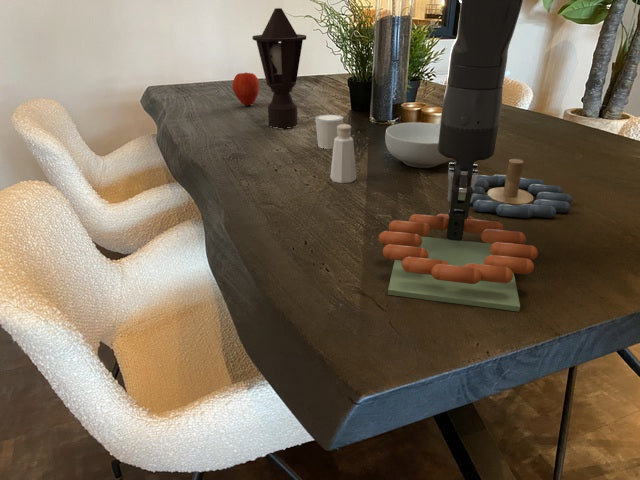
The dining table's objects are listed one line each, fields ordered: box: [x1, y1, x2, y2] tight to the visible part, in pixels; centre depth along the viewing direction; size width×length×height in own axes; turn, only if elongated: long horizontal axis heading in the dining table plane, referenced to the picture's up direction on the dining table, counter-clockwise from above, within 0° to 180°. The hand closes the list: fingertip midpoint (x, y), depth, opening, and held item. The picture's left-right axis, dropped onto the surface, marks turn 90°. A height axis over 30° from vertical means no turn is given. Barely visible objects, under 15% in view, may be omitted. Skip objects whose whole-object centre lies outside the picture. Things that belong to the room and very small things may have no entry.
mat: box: [387, 236, 521, 313], centre depth 68 cm, size 16×16×1 cm
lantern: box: [251, 7, 307, 128], centre depth 131 cm, size 15×15×30 cm
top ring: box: [378, 213, 539, 284], centre depth 66 cm, size 21×17×2 cm
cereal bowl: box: [384, 121, 454, 169], centre depth 107 cm, size 17×17×7 cm
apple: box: [232, 71, 260, 106], centre depth 158 cm, size 9×8×11 cm
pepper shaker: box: [329, 123, 357, 184], centre depth 98 cm, size 5×5×11 cm
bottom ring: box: [470, 174, 573, 219], centre depth 89 cm, size 21×17×2 cm
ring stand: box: [486, 158, 534, 206], centre depth 88 cm, size 8×8×8 cm
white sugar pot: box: [314, 114, 344, 150], centre depth 119 cm, size 7×7×7 cm
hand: (454, 233), depth 73 cm, fingers closed on top ring, 2 cm apart
